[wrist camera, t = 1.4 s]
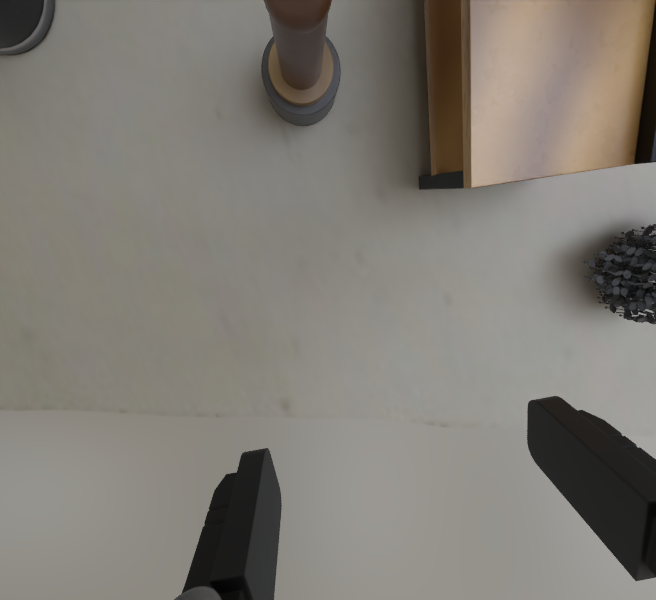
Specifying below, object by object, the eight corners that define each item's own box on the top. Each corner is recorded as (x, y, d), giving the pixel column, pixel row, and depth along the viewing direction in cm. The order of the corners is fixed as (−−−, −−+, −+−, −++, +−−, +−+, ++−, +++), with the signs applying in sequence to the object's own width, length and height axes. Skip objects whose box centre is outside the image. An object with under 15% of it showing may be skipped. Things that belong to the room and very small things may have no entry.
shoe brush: (274, 130, 31) (239, 62, 15) (261, 53, 29) (205, -119, 13) (339, 121, 31) (375, 43, 15) (330, 44, 29) (360, -140, 13)
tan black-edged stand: (419, 189, 33) (479, 188, 22) (407, -40, 28) (479, -208, 16) (538, 171, 33) (662, 160, 22) (550, -60, 28) (725, -241, 16)
